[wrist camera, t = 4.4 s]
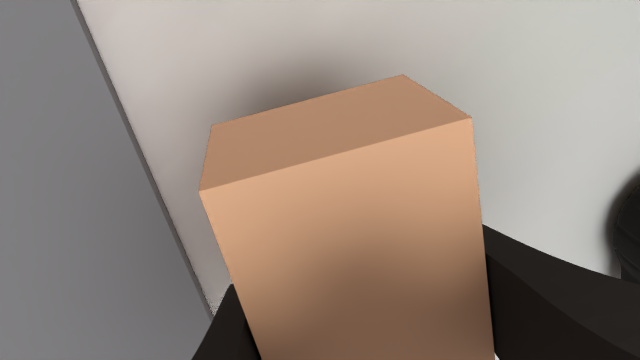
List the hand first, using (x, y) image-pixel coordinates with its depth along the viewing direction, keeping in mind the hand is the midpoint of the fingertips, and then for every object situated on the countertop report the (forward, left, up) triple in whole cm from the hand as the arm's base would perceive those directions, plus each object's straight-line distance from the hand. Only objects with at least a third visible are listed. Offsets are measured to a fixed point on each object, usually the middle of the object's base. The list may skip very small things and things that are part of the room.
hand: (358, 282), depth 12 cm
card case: (0, 0, -2) cm, 2 cm away
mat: (0, +12, -9) cm, 15 cm away
